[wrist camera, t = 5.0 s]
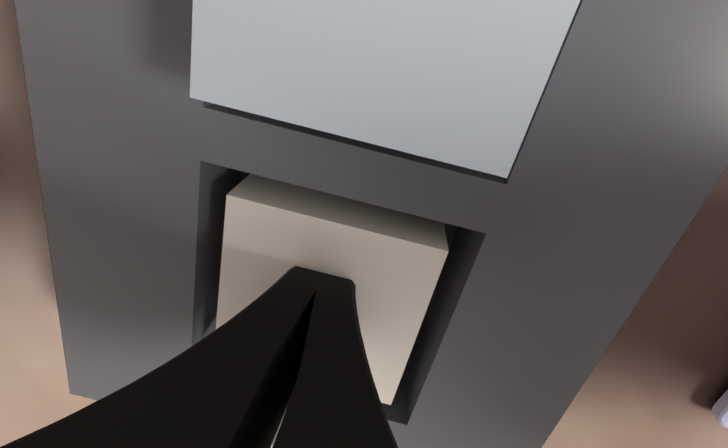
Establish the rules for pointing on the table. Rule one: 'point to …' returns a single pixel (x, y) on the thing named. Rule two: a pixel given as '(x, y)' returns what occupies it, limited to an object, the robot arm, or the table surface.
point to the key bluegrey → (386, 69)
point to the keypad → (378, 204)
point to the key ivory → (335, 261)
